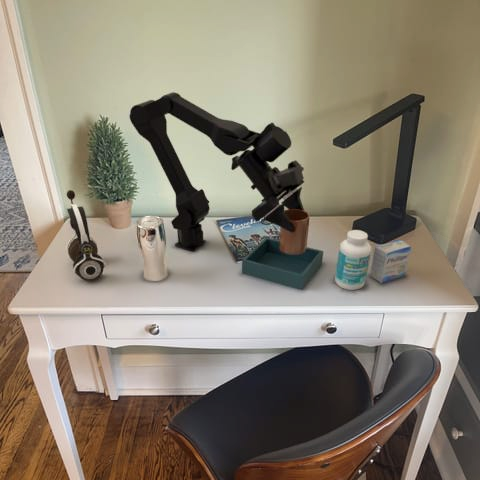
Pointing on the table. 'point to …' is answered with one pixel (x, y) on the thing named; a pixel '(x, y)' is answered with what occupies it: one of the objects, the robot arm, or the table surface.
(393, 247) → the medicine box
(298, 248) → the cup
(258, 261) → the tray
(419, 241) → the table surface
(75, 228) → the headset
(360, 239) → the pill bottle
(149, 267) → the beer glass
